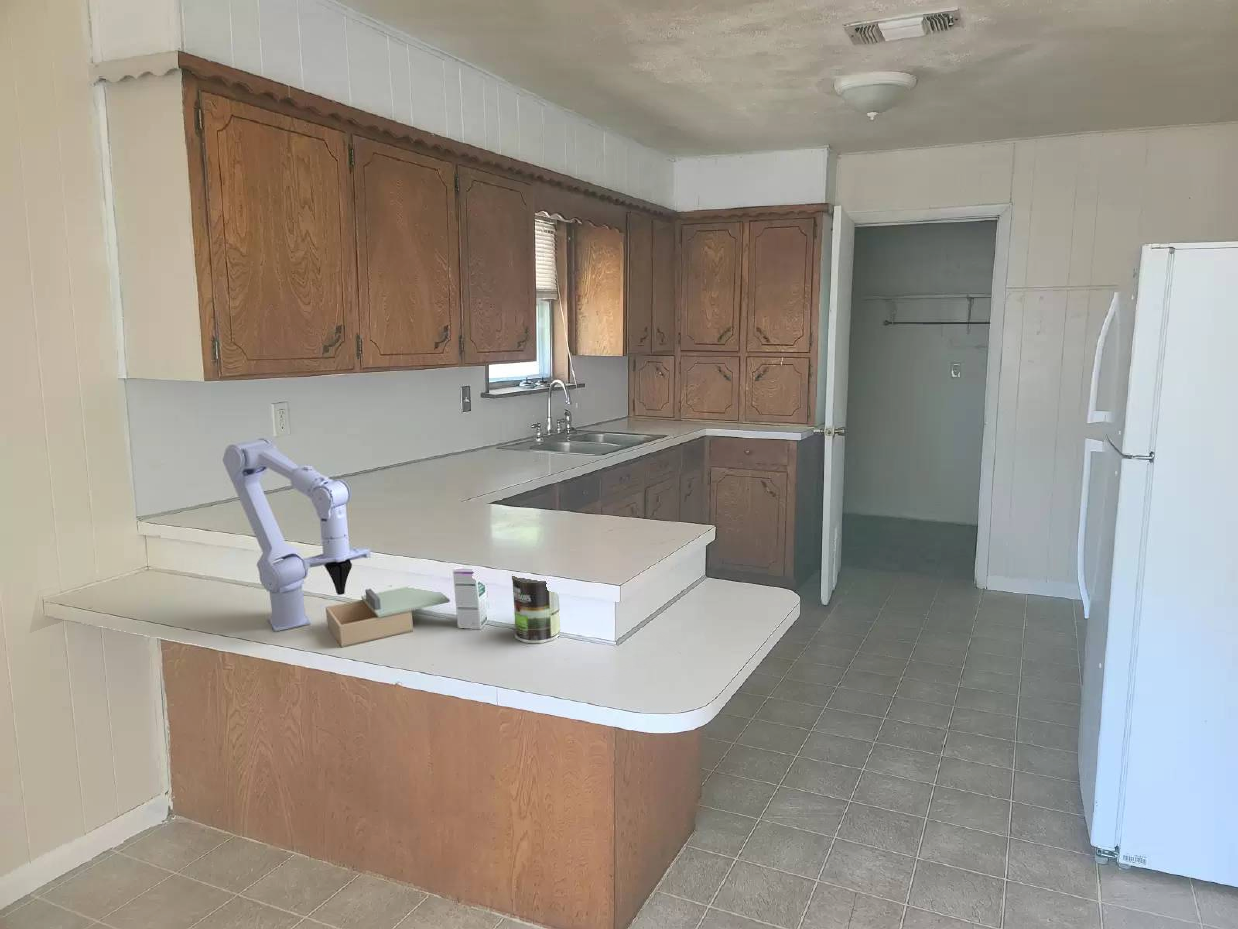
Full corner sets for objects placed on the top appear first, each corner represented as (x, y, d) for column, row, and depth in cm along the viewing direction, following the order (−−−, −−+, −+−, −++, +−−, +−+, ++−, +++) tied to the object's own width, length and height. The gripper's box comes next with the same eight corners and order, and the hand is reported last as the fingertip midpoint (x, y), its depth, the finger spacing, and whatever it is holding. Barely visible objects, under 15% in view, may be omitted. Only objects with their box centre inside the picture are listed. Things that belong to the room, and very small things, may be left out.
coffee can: (532, 647, 188) (528, 585, 186) (506, 634, 196) (502, 574, 193) (570, 634, 195) (567, 574, 192) (544, 622, 203) (540, 564, 200)
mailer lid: (361, 598, 207) (360, 586, 206) (429, 584, 215) (428, 572, 214) (378, 617, 195) (377, 604, 194) (449, 602, 203) (448, 589, 202)
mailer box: (327, 627, 204) (325, 607, 203) (395, 612, 211) (393, 593, 210) (341, 647, 192) (339, 626, 191) (413, 631, 200) (411, 610, 199)
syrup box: (481, 630, 199) (477, 569, 196) (456, 628, 200) (452, 568, 197) (489, 620, 205) (485, 561, 202) (465, 619, 206) (461, 560, 203)
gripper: (304, 545, 188) (311, 605, 190) (372, 533, 195) (377, 591, 198) (298, 537, 194) (304, 595, 196) (363, 526, 201) (368, 583, 204)
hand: (340, 593), depth 197 cm, fingers closed
